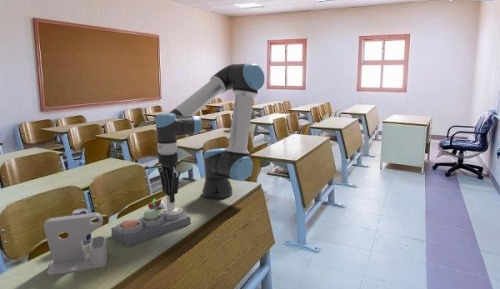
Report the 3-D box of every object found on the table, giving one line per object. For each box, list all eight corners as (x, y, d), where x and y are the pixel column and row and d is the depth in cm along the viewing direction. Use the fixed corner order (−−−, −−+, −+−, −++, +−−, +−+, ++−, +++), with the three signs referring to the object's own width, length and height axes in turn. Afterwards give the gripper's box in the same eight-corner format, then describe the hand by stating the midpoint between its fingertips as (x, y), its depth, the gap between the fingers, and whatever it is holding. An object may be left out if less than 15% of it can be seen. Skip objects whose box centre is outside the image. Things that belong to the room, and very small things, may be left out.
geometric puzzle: (142, 211, 154) (152, 197, 153) (147, 205, 161) (156, 191, 160) (156, 220, 155) (166, 206, 154) (160, 214, 162) (170, 201, 160)
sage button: (154, 213, 144) (154, 208, 144) (161, 217, 140) (161, 211, 140) (141, 217, 140) (141, 212, 140) (148, 222, 136) (148, 216, 136)
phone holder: (108, 251, 124) (103, 202, 120) (106, 266, 115) (101, 213, 111) (52, 260, 119) (45, 209, 115) (45, 276, 109) (37, 221, 106)
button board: (173, 215, 155) (172, 204, 154) (190, 223, 146) (190, 212, 145) (111, 235, 137) (110, 222, 136) (127, 246, 127) (126, 233, 126)
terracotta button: (133, 224, 138) (133, 218, 138) (140, 228, 134) (140, 222, 134) (119, 228, 135) (119, 222, 134) (126, 233, 131) (125, 227, 130)
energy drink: (83, 245, 129) (79, 214, 126) (72, 243, 130) (68, 212, 128) (94, 239, 133) (91, 208, 131) (83, 237, 135) (80, 207, 133)
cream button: (174, 211, 151) (173, 206, 150) (181, 215, 147) (181, 209, 146) (162, 215, 147) (161, 209, 146) (169, 219, 143) (169, 213, 142)
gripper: (150, 151, 144) (154, 207, 148) (168, 156, 134) (171, 216, 139) (167, 149, 149) (170, 203, 153) (185, 153, 139) (188, 211, 144)
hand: (171, 209), depth 146 cm, fingers closed
